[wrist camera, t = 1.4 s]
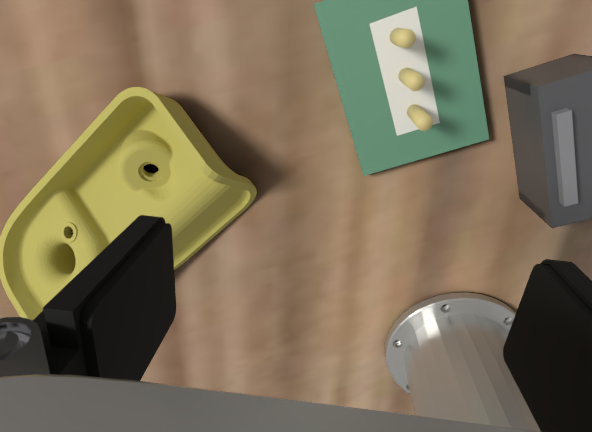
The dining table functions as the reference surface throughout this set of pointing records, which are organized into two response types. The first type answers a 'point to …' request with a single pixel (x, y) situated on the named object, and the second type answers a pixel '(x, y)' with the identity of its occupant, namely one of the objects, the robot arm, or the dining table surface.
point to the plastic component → (118, 196)
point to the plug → (553, 137)
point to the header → (405, 77)
